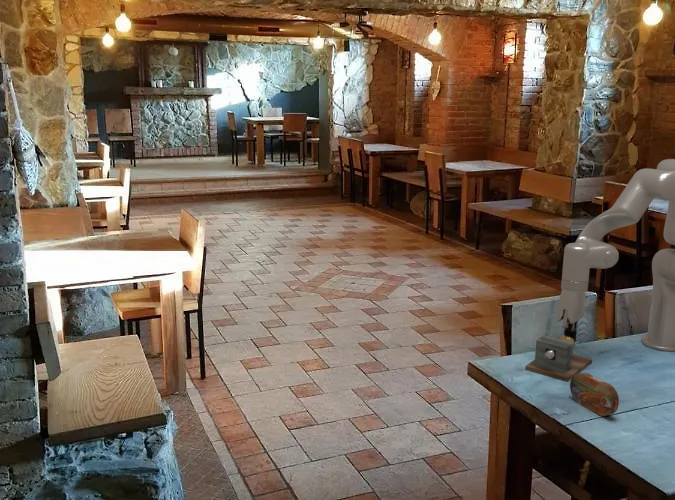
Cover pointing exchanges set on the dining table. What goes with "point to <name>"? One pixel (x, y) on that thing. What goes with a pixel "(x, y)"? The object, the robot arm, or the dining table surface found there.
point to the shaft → (552, 353)
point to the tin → (594, 394)
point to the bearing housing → (557, 359)
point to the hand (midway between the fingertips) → (569, 341)
